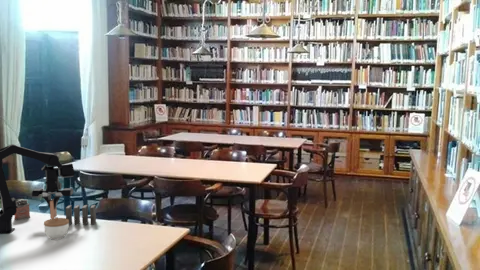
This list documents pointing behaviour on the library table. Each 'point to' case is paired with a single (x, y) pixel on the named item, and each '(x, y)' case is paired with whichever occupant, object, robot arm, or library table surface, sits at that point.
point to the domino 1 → (52, 210)
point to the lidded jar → (56, 227)
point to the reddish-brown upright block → (22, 210)
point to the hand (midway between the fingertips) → (53, 208)
